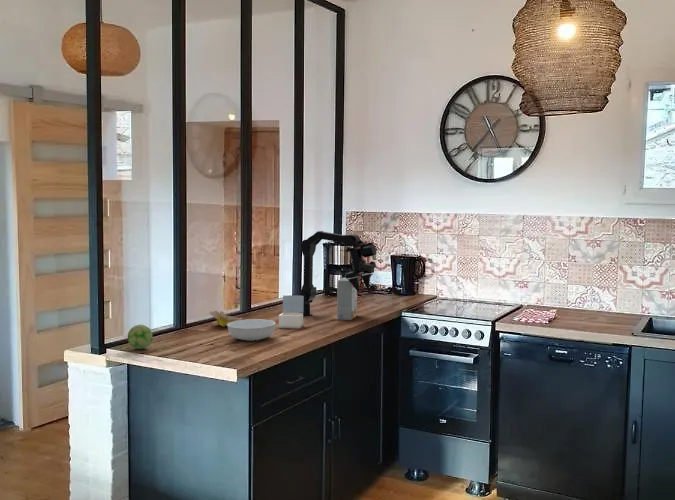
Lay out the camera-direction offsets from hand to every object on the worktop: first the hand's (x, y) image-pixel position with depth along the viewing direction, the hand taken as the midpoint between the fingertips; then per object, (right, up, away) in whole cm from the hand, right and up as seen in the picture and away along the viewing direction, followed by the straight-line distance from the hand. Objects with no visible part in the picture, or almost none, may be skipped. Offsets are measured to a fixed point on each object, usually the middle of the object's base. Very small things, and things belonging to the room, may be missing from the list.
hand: (363, 289), depth 342 cm
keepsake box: (-35, -17, -16) cm, 42 cm away
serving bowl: (-50, -19, -44) cm, 69 cm away
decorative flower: (-66, -17, -15) cm, 70 cm away
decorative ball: (-93, -21, -64) cm, 115 cm away
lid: (-34, -6, -13) cm, 37 cm away
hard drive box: (-8, -15, +8) cm, 19 cm away
